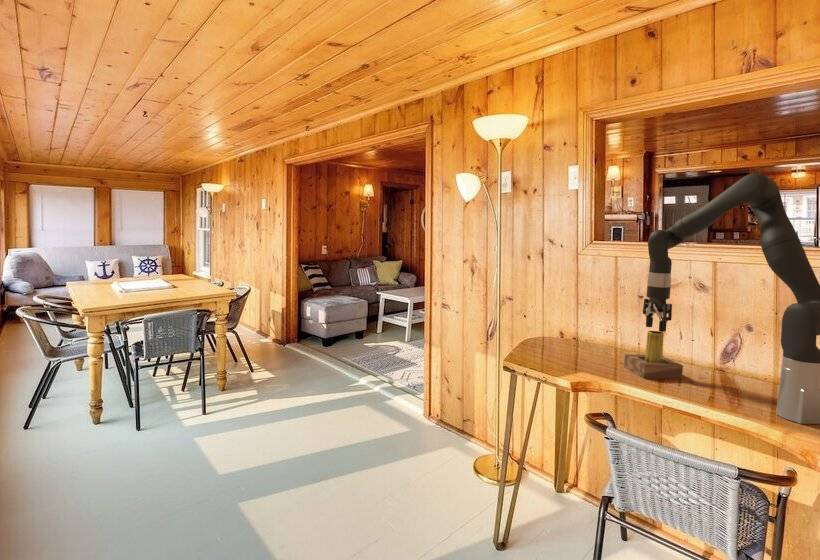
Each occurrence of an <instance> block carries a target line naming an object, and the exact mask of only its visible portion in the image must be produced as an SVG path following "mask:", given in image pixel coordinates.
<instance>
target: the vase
mask: <svg viewBox="0 0 820 560" xmlns="http://www.w3.org/2000/svg"><path fill="white" fill-rule="evenodd" d="M664 334H665V332H660V331H659V330H658V331H657V330H647V337H646V345H645V346H646V347H645V354H644V355H645V361H646V362H648V363H662V356H663V350H664V349H663V347H664Z"/></svg>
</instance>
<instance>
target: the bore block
mask: <svg viewBox="0 0 820 560" xmlns="http://www.w3.org/2000/svg"><path fill="white" fill-rule="evenodd" d="M623 361H624V362H623V364H624V365H623V367H624V368H625V369H626V370H627V371H630V372H631V373H633V374H635V375H637V376H639V377H640V378H642V379H643V380H644V379H649V380H653V379H654V380H659V379H660V380H682V379H683V370H684V365H682V364H680V363H679V362H676V361H674V360H673V359H670V358H668V357H666V356H663V355H662V363H648V362H646V361H645V354H632V353H631V354H629V353H628V354H624V360H623Z"/></svg>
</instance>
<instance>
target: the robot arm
mask: <svg viewBox="0 0 820 560" xmlns="http://www.w3.org/2000/svg"><path fill="white" fill-rule="evenodd" d="M745 204H748V206H750V208H751V210H752V212H753V214H754V216H755V217H756V220H757V222H758V226H759V239H760V247H761V252H762V253H763V256H764V258H765V261H766V263H767V265H768V267H769V268H770V269H771V271H772V272H773V273H774V274H775V276H777V277H778V279H780V280H781V281H782V282H783V283H784V284H785V285H786V286H787V288H789V289H790V290H791V292H792V294H793V295H794V297H795V300H796V303H795V302H794V303H792V304H791V303H790V304H789V305H788V306H787V307H786V309H784V312H783V315H782V318H781V330H780V332H781V333H780V346H781V348H782V359H781V368H780V375H779V384H778V392H777V399H776V409H775V414H776V415H777V416H778V415H779V416H778V417H780V418H782V419H785V420H788V421H792V422H796V424H797V423H798V424H799V425H800V424H803V425H804V424H805V425H806V424H807V425H811V424H813V425H815V424H816V425H818V424H819V425H820V348H819V347H818V346H817V336H820V282H819V280H818V278H817V276H816V274H815V271H814V270H813V267H812V265H811V263H810V261H809V258H808V256H807V253H806V250H805V249H804V246H803V244H802V242H801V239H800V237H799V236H798V233H797V231H796V229H795V227H794V225H793V224H792V222H791V220H790V219H789V216H788V214H787V213H786V210H785V207H784V202H783V199H782V195H781V192H780V188H779V186H778V183H776V181H774V180H773V178H770V177H768V176H766V175H765V174H764V173H759V172H754V173H749V174H747V175H745V176H743V177H742V178H740V179H739V180H737V181H736V182H735V183H733V184H732V185H731V186H730V187H728V188H727V189H725V190H724V191H723V192H721V193H720V194H718V195H717V196H715V197H714V198H712V200H710V201H709V202H707V203H706V204H704V205H702V206H701V207H698V208H697V209H695V210H694V211H692V212H690V213H688V214H686V215H685V216H683V217H681V218H679V219H678V220H676V222H674V225H672V226H670V227H668V228H667V229H657V230H654V231H652V232H651V233H650V235H649V237H648V240H647V249H648V256H649V266H648V267H649V268H648V269H649V270H648V276H647V282H646V283H647V284H646V285H647V286H646V287H647V288H646V297H647V298H644V299H643V305H642V306H643V307H642V314H643V315H644V316H645V327H646V328H652V327H653V321H654V315H655V314H656V316H657V317H658V319H659V322H658V331H659V332H663V333H665V332H666V331H667V325H668V324H667V323H668V322H669V321H672V316H673V315H672V313H673V311H672V310H673V304H672V303H667V300H669V299H670V298H671V287H672V265H673V264H672V259H671V257H669V250H671V249H673V248H676V247H677V246H678V245H680V244H681V243H683V242H684V241H686V240H687V239H688V238H690V237H693V236H694V235H697V234H698V233H701V232H703V231H704V230H706V229H707V228H709V227H710V226H712V225H713V224H714V223H716V221H717V220H718V219H719V218H721V217H722V216H723V215H724V214H726V213H727V212H728V211H730V210H732V209H735V208H736V207H739V206H741V205H742V206H743V205H745Z"/></svg>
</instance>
